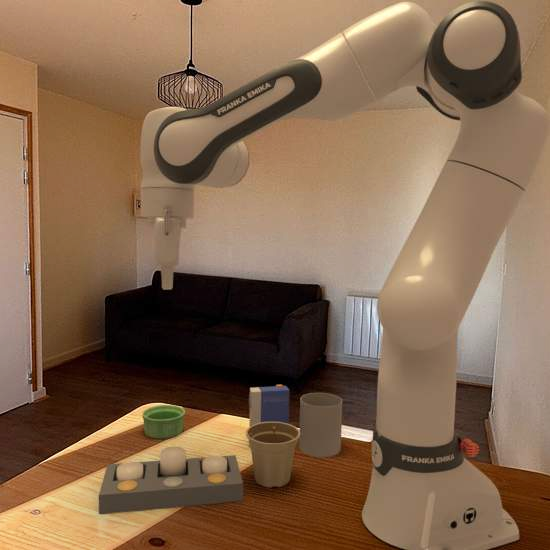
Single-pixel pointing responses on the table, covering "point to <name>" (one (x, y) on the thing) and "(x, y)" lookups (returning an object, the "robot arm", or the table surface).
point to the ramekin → (163, 421)
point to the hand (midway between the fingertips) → (167, 288)
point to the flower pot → (272, 451)
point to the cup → (320, 424)
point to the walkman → (269, 404)
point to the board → (170, 487)
